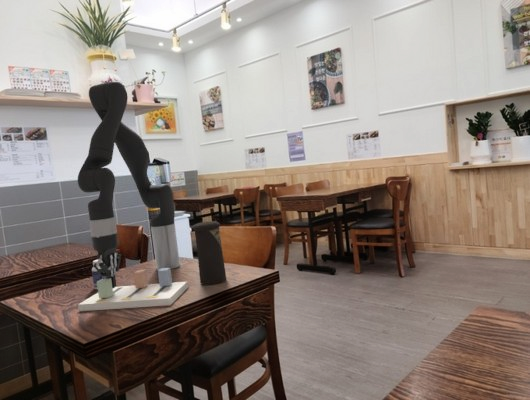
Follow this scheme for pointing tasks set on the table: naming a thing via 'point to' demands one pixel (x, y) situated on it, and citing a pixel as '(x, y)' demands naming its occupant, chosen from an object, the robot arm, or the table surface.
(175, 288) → the panel
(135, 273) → the terracotta lever
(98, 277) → the pill bottle
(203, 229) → the container
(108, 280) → the sage lever
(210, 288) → the table surface
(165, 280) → the slate lever
